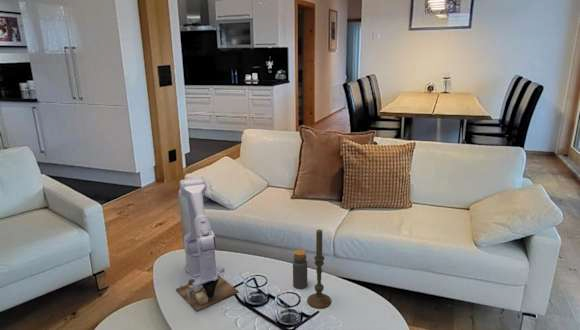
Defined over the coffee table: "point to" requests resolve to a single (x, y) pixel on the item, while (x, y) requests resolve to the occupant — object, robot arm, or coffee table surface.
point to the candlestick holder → (319, 278)
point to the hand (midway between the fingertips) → (210, 296)
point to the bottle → (300, 269)
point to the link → (198, 294)
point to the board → (220, 294)
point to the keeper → (191, 292)
